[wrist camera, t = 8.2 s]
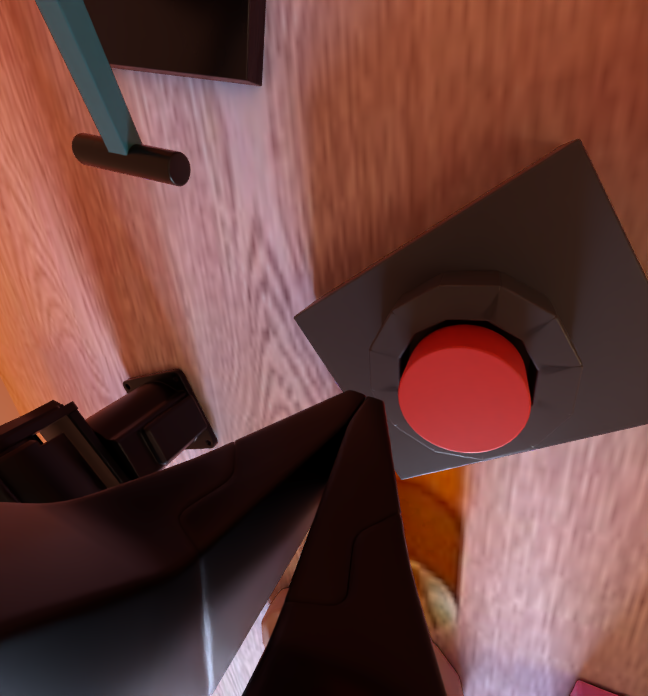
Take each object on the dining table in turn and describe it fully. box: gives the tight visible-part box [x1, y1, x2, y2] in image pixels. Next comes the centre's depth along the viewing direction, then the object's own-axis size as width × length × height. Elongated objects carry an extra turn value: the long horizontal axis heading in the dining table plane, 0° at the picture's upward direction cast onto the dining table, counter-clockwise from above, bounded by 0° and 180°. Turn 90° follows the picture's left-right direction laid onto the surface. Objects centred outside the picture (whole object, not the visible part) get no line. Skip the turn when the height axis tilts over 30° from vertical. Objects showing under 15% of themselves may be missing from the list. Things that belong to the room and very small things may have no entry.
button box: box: [294, 139, 648, 480], centre depth 15 cm, size 12×10×4 cm
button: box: [398, 324, 531, 453], centre depth 12 cm, size 4×4×2 cm
